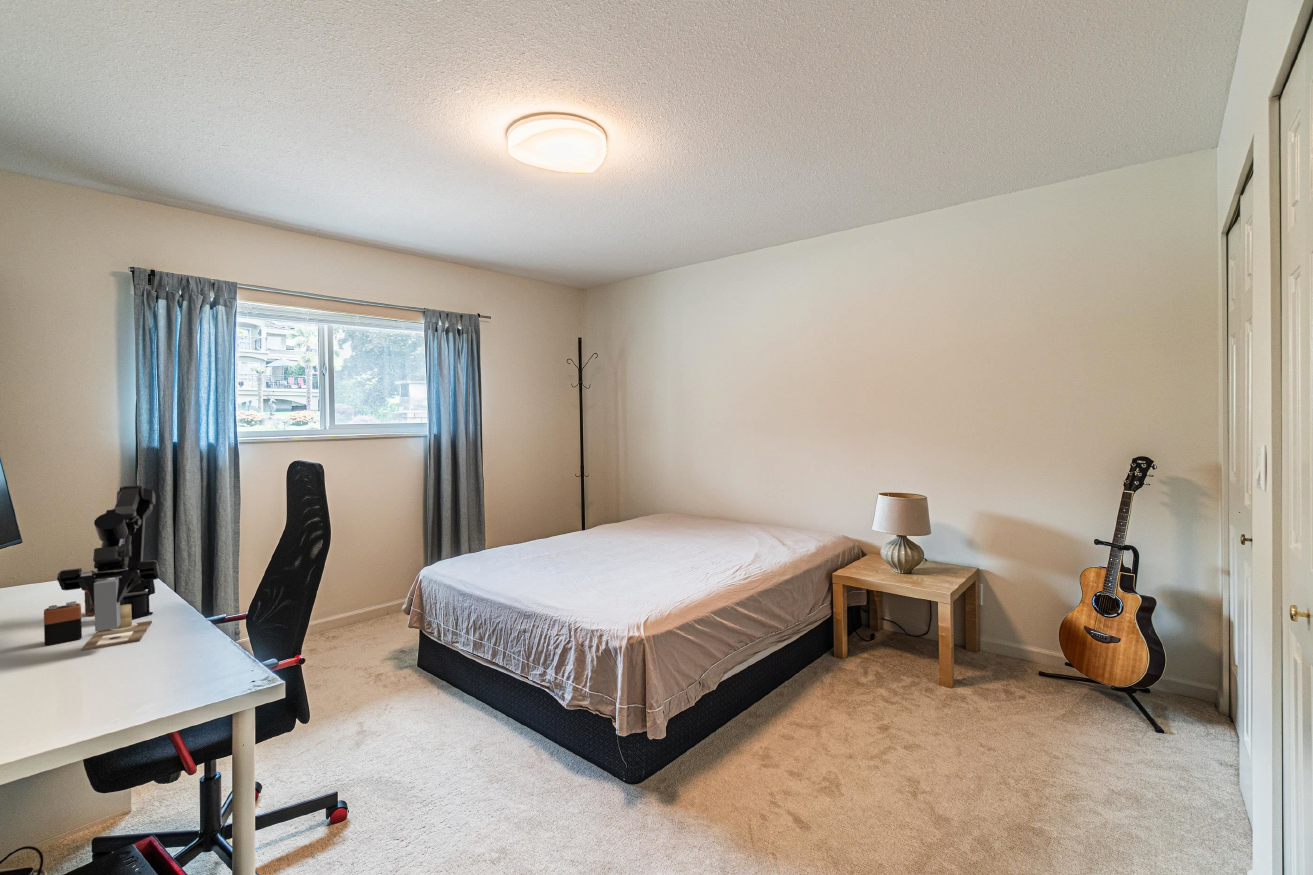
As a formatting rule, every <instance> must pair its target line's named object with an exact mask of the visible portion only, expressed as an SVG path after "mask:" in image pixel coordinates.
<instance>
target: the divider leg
mask: <svg viewBox="0 0 1313 875" xmlns="http://www.w3.org/2000/svg"><path fill="white" fill-rule="evenodd" d="M119 587H120V585H119V578H110V579H105V580H98V581H97V582H95V583H94V605H95V616H94V632H97V631H101V630H108V629H114V628H118V626H119V625H120V624H121V619H120V602H118V603H117V594H118V590H119Z"/></svg>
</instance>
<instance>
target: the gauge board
mask: <svg viewBox="0 0 1313 875" xmlns="http://www.w3.org/2000/svg"><path fill="white" fill-rule="evenodd" d="M120 619H121V624H120V625H119V626H118V628H114V629H108V630H101V631H95V633H94V634H93V635H92V636H91V637H90V639H89V640H88V641H87V642H86V643H85V644H84V645H83V646H82V647H81V648H80V649H81V652H83V651H90V650H95V649H102V648H108V647H113V646H114V647H115V646H119V645H120V646H121V645H126V644H132V643H138V642H140V641H141V640H142V639H143V637H144V636H145V634H146V633H147V631H148V629H149V628H150V626H151V625H152V623H153V620H145V621H140V622H133V619H132V611H131V604H127V605H121V606H120Z"/></svg>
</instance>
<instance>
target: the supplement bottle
mask: <svg viewBox="0 0 1313 875" xmlns="http://www.w3.org/2000/svg"><path fill="white" fill-rule="evenodd" d="M102 580H105V579H102ZM97 581H98V580H96V582H97ZM84 612H85V615H86V616H87V617H95V606H93V603H92V600H91V596H90V594H89V592H88V591H87V590H86V591H84Z"/></svg>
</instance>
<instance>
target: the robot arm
mask: <svg viewBox="0 0 1313 875" xmlns="http://www.w3.org/2000/svg"><path fill="white" fill-rule="evenodd" d="M155 504H156V493H155V492H154V490H153V489H150V488H146V487H144V486H143V485H138V484H137V485H135V484H134V485H123V486H120V487H119V490H117V491H116V504H115V505H114V508H112V509H106V512H105V513H102V514H100V515H99V516H98V517H96V518H95V519H94V522H93V523H94V527H95V530H96V533H97V537H98V539H99V540H100V541H101V546H100V547H98V548H97V547H96V548H94V549H93V559H92V561H93V562H94V564H93V567H94V569H96V571H94V570H85V571H83V570H82V568H81V567H79V568H78V567H76V568H70V569H62V570H60V571H59V572H58V573H57V576H56V580H57V583H58V585H59V586H60V589H61V590H62V591H66V592H67V591H72V590H73V591H74V590H80V589H81V590H82V591H84V592H85V591H86V590H87V591H88V592H89V594H90V596H91V600H92V603H93V606H95V605H94V583H95V582H96V580H102V579H114V578H119V585H120V587H119V590H118V594H117V603H118V602H120V606H121V605H127V604H131V611H132V620H135V619H138V618H143V617H145V616H150V615H154V612H153V611H151V609H150V596H151V595H154V594H156V585H155V580H158V579H160V574H161V572H160V571H161V570H160V566H159V562H158V561H157V560H155V559H153V560H152V559H151V560H144V545H145V532H146V531H145V527H146V519H147V518H148V516H149V515H150V514H151V513H152V512H153V507H154V506H153V505H155Z"/></svg>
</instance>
